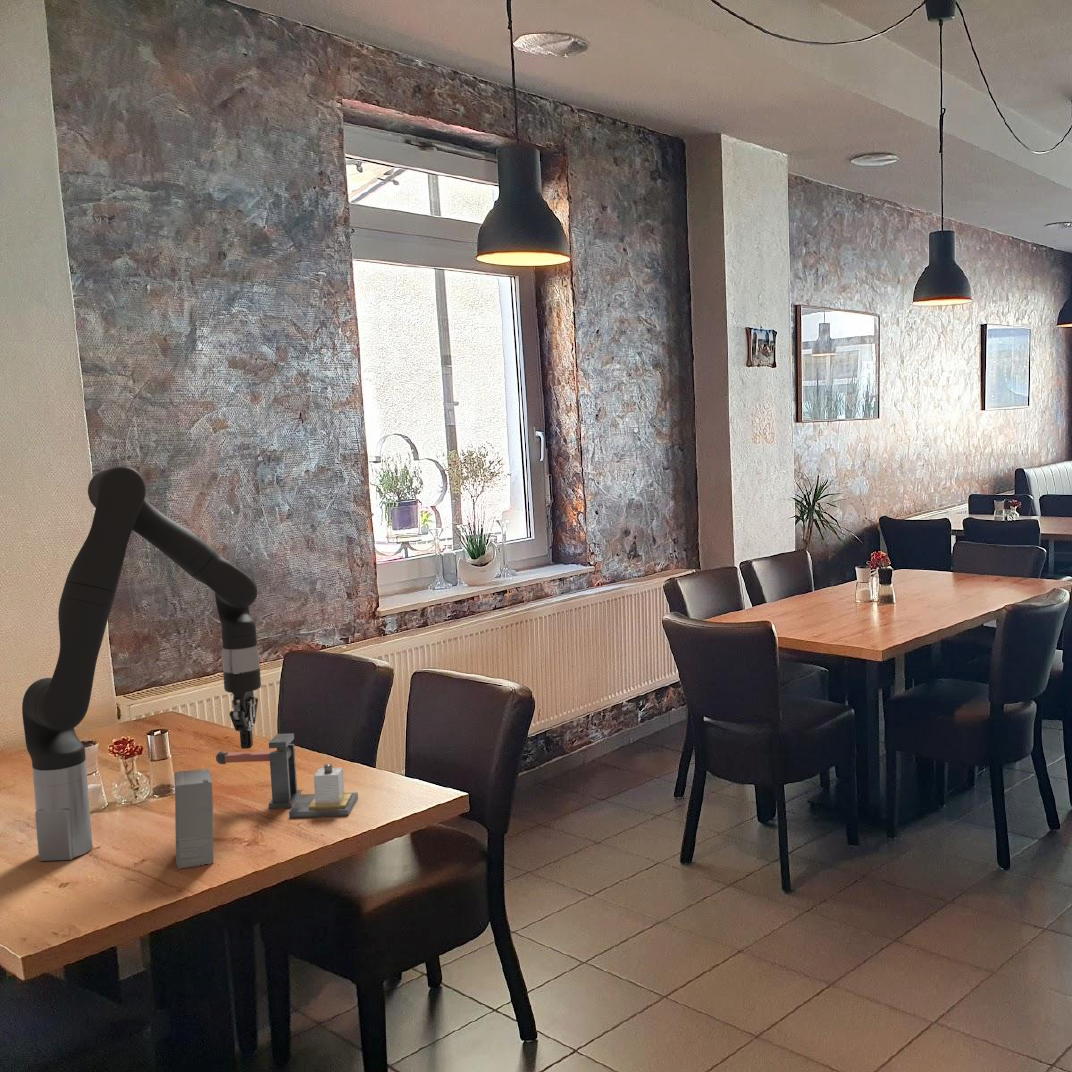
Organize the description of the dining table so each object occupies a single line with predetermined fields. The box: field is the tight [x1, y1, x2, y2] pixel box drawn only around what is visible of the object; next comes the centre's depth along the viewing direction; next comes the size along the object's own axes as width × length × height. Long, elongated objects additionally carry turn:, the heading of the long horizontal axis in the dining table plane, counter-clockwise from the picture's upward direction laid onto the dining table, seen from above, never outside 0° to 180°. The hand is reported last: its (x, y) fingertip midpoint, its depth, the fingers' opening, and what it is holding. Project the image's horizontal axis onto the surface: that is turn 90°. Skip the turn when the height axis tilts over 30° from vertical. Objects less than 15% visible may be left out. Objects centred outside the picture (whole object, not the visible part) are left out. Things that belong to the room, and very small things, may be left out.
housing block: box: [313, 763, 345, 804], centre depth 216 cm, size 5×5×7 cm
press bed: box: [268, 732, 359, 819], centre depth 219 cm, size 15×18×14 cm
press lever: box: [215, 747, 292, 765], centre depth 222 cm, size 4×16×3 cm, turn 89°
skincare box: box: [174, 768, 214, 870], centre depth 191 cm, size 8×7×16 cm
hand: (247, 747), depth 222 cm, fingers closed
